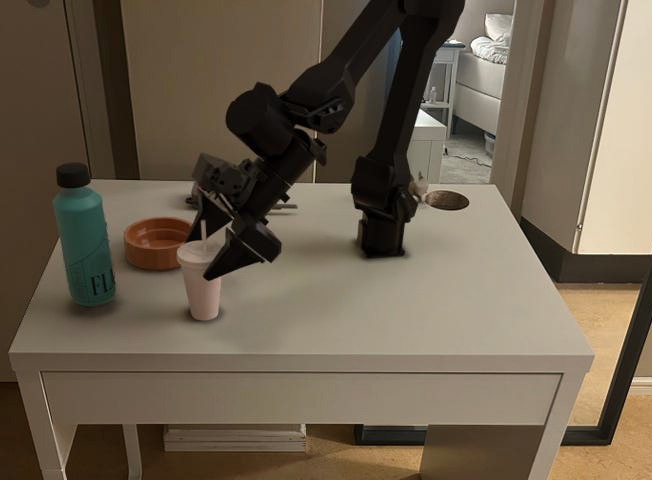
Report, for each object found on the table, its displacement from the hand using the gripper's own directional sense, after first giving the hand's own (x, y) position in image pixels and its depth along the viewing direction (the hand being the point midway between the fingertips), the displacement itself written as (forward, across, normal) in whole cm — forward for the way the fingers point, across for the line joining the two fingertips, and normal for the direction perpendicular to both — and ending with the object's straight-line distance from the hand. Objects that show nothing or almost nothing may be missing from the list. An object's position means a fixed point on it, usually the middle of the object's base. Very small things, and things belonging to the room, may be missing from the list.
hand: (195, 262), depth 92 cm
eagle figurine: (-26, -24, +38) cm, 52 cm away
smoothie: (+5, 0, +6) cm, 8 cm away
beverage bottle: (+15, -8, -3) cm, 17 cm away
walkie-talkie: (-6, -32, +18) cm, 38 cm away
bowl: (+6, -19, +5) cm, 20 cm away
